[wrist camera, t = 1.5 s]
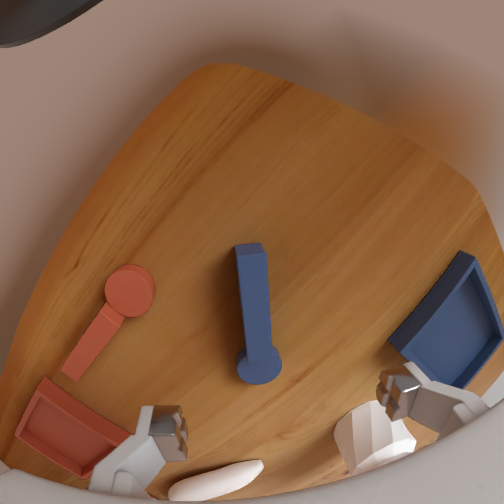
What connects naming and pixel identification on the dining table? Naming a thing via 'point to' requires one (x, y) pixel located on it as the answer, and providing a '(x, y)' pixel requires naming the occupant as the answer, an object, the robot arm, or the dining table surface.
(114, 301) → the terracotta spoon
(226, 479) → the banana
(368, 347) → the dining table surface
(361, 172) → the dining table surface
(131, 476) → the robot arm
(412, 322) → the blue tray
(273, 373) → the blue spoon
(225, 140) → the dining table surface
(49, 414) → the terracotta tray
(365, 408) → the vase
